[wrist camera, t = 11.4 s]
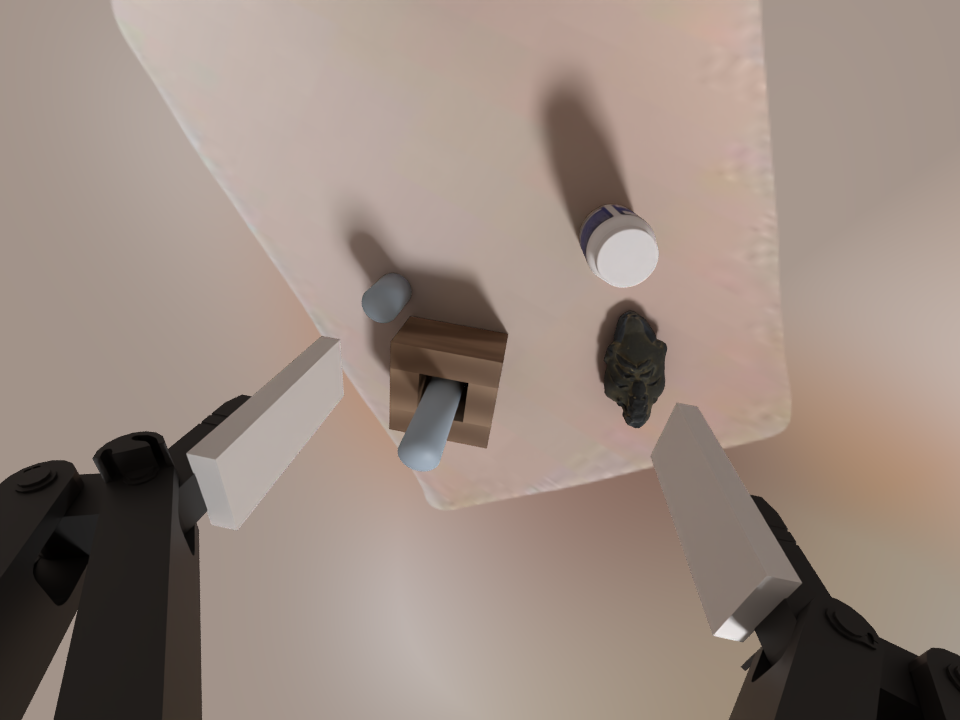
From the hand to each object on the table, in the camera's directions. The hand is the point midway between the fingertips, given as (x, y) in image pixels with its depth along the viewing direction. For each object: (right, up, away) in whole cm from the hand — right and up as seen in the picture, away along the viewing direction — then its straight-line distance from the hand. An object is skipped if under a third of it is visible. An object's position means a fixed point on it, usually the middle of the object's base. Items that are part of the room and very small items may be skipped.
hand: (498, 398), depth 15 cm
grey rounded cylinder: (-11, +10, +30) cm, 33 cm away
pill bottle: (+12, +14, +23) cm, 30 cm away
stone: (+17, +1, +30) cm, 35 cm away
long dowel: (-4, +1, +34) cm, 34 cm away
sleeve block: (-4, +1, +34) cm, 34 cm away
